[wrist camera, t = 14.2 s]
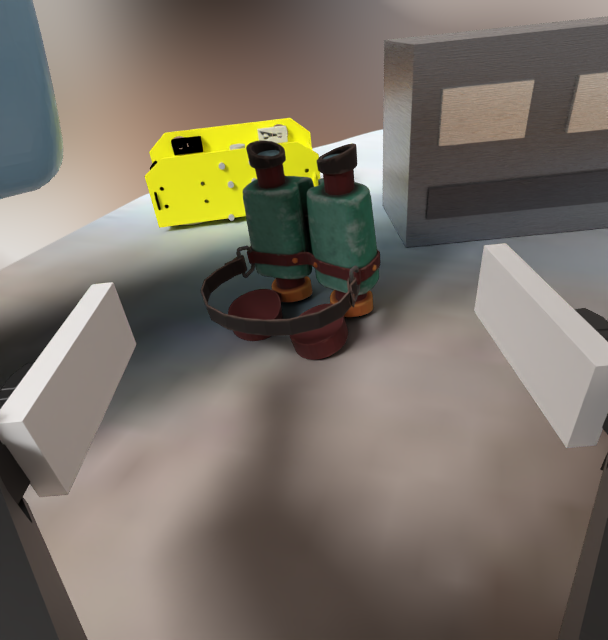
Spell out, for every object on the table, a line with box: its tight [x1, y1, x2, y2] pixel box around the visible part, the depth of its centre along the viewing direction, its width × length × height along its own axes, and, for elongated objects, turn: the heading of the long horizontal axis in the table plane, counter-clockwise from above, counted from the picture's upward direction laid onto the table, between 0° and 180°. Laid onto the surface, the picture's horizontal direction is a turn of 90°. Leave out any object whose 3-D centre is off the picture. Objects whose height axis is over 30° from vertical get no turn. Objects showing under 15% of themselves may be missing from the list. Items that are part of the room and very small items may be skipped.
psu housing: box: [383, 17, 608, 247], centre depth 36 cm, size 19×10×14 cm, turn 92°
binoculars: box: [201, 140, 380, 360], centre depth 25 cm, size 9×11×10 cm
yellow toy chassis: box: [145, 118, 320, 227], centre depth 44 cm, size 16×6×8 cm, turn 98°
